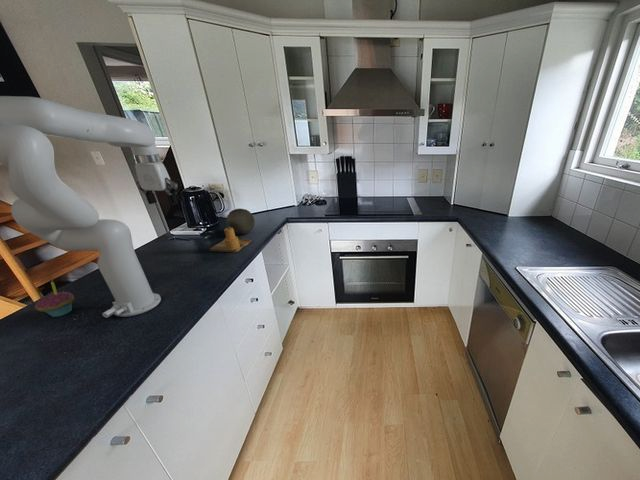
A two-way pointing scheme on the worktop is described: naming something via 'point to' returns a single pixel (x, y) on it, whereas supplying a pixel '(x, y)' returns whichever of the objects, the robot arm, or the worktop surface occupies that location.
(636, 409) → the worktop surface
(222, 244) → the board
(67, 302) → the cupcake
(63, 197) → the robot arm
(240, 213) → the cantaloupe
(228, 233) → the squash
